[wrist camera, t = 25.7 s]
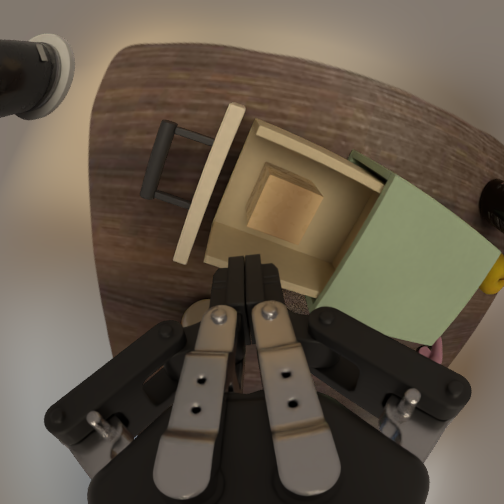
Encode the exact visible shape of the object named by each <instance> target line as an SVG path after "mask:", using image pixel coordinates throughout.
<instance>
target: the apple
mask: <svg viewBox="0 0 504 504" xmlns="http://www.w3.org/2000/svg"><path fill="white" fill-rule="evenodd" d="M503 286H504V255H503V254H502V253H501V254H500V256H499V257H498V259H497V260H496V262H495V264H494V265H493V267H492V268H491V270H490V271H489V273H488V274H487V276H486V277H485V279H484V280H483V282H482V283H481V285H480V286H479V288H480V289H481V290H482V291H483V292H484V293H486V294H495V293H497V292H498V291H500V290H501V289H502V287H503Z"/></svg>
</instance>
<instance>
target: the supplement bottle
mask: <svg viewBox="0 0 504 504" xmlns="http://www.w3.org/2000/svg"><path fill="white" fill-rule="evenodd" d="M480 208H481V213H482V216H483V217H484V219H485V220H486V221H487V222H489V223H490V224H491V225H493V226H494V227H496V228H497V229H498V230H500V231H501V232H502V233H504V181H503V180H500V179H495V180H492V181H491V182H490V183H489V184H488V185H487V186H486V187H485V189H484V191H483V194H482V197H481V203H480Z"/></svg>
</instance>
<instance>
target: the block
mask: <svg viewBox="0 0 504 504" xmlns="http://www.w3.org/2000/svg"><path fill="white" fill-rule="evenodd" d="M323 198H324V197H323V195H322V194H321V193H320V191H319V190H318V189H317V187H316V186H315V185H314V183H313V182H312V181H311V180H309V179H307V178H304V177H302V176H300V175H298V174H295V173H293V172H290V171H288V170H286V169H283V168H281V167H279V166H276V165H274V164H271V163H269V162H265V163H264V166H263V168H262V170H261V172H260V175H259V177H258V179H257V182H256V184H255V186H254V188H253V191H252V193H251V195H250V198H249V200H248V202H247V205H246V222H247V227H249V228H252V229H255V230H257V231H260V232H263V233H266V234H268V235H271V236H274V237H277V238H279V239H282V240H285V241H288V242H290V243H293V244H296V245H299V243H300V241H301V240H302V238H303V236H304V234H305V232H306V230H307V228H308V227H309V225H310V223H311V221H312V219H313V217H314V215H315V213H316V211H317V209H318V208H319V206H320V204H321V202H322V200H323Z"/></svg>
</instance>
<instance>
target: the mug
mask: <svg viewBox="0 0 504 504" xmlns="http://www.w3.org/2000/svg"><path fill="white" fill-rule="evenodd" d="M209 305H210V299H203V300H200V301H198V302H196V303H194V304H192V305H191V306H190V307H189V308H188V309H187V310H186V312H185V313H184V315H183V317H182V321H181V324H182V326H183V327H187V326H190V325H193V324H196V323H198V322H200V321H201V320H202V316H203V314H204V313H205V311H207V310H208V309H209Z"/></svg>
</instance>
